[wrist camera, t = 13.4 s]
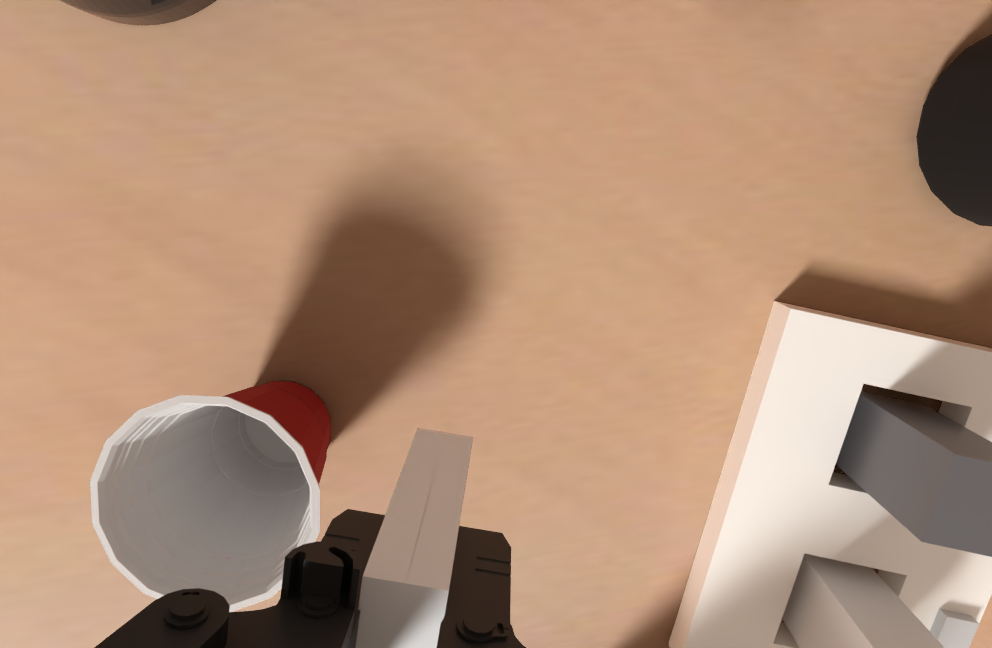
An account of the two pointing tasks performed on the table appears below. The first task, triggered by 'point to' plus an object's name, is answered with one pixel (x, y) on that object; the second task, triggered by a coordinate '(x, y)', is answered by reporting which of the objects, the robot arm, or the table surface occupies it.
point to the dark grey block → (922, 471)
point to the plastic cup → (213, 490)
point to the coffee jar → (961, 135)
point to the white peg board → (831, 501)
